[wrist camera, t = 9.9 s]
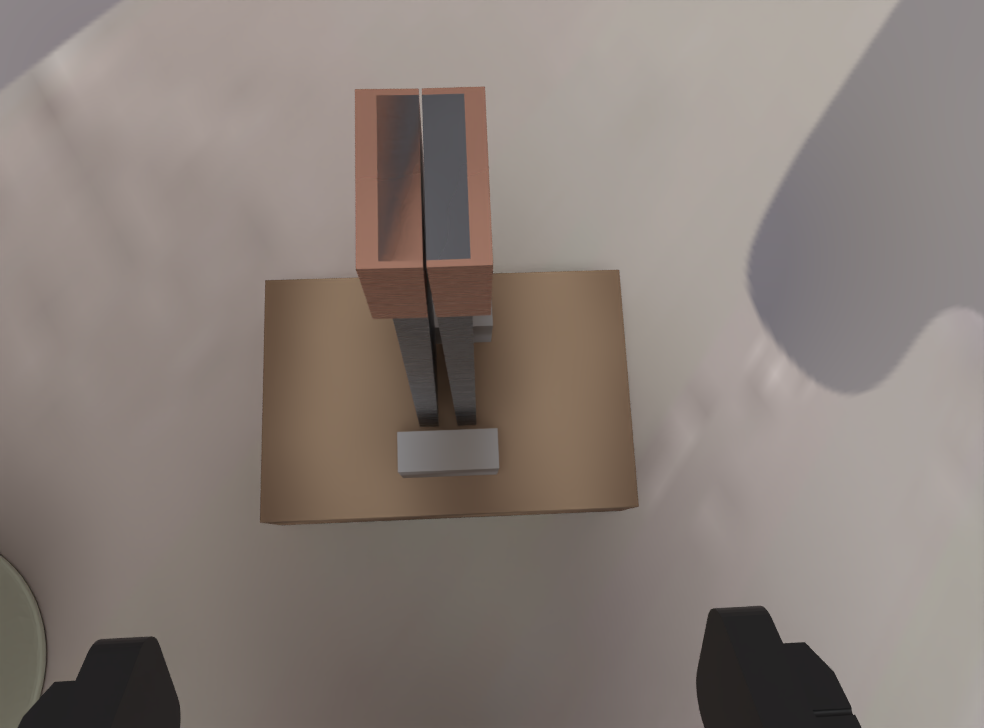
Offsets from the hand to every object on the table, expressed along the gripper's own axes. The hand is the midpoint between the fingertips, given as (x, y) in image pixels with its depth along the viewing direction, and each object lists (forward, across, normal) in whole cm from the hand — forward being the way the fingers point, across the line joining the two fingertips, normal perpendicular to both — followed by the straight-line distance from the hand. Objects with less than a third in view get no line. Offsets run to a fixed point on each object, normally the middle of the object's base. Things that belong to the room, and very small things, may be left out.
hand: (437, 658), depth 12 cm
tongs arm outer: (+14, -1, +4) cm, 14 cm away
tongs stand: (+16, 0, +7) cm, 18 cm away
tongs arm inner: (+14, 0, +4) cm, 14 cm away
